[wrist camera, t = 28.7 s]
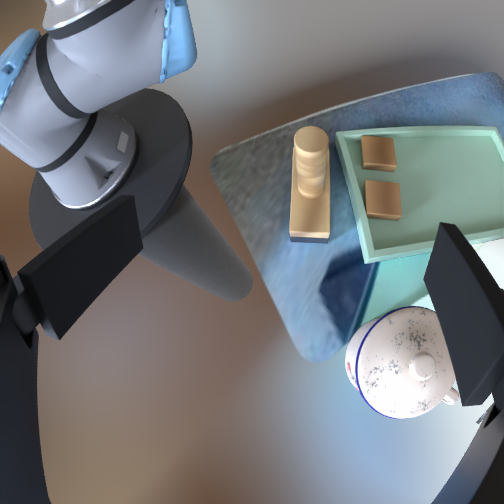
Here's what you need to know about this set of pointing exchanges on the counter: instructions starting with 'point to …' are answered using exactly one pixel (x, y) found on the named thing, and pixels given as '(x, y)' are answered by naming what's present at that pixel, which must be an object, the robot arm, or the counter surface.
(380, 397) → the teacup with lid
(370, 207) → the cork piece
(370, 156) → the cork piece
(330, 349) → the counter surface
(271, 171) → the counter surface
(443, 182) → the tray
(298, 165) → the brush
